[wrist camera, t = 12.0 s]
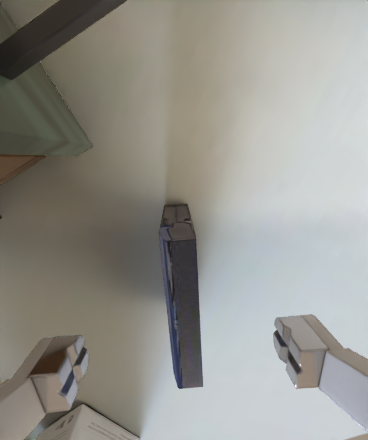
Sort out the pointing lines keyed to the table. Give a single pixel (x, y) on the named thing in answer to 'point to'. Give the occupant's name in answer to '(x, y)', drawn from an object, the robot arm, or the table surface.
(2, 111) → the drawer
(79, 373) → the robot arm
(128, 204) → the table surface
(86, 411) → the cosmetic box
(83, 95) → the table surface
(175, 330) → the mini dv tape
